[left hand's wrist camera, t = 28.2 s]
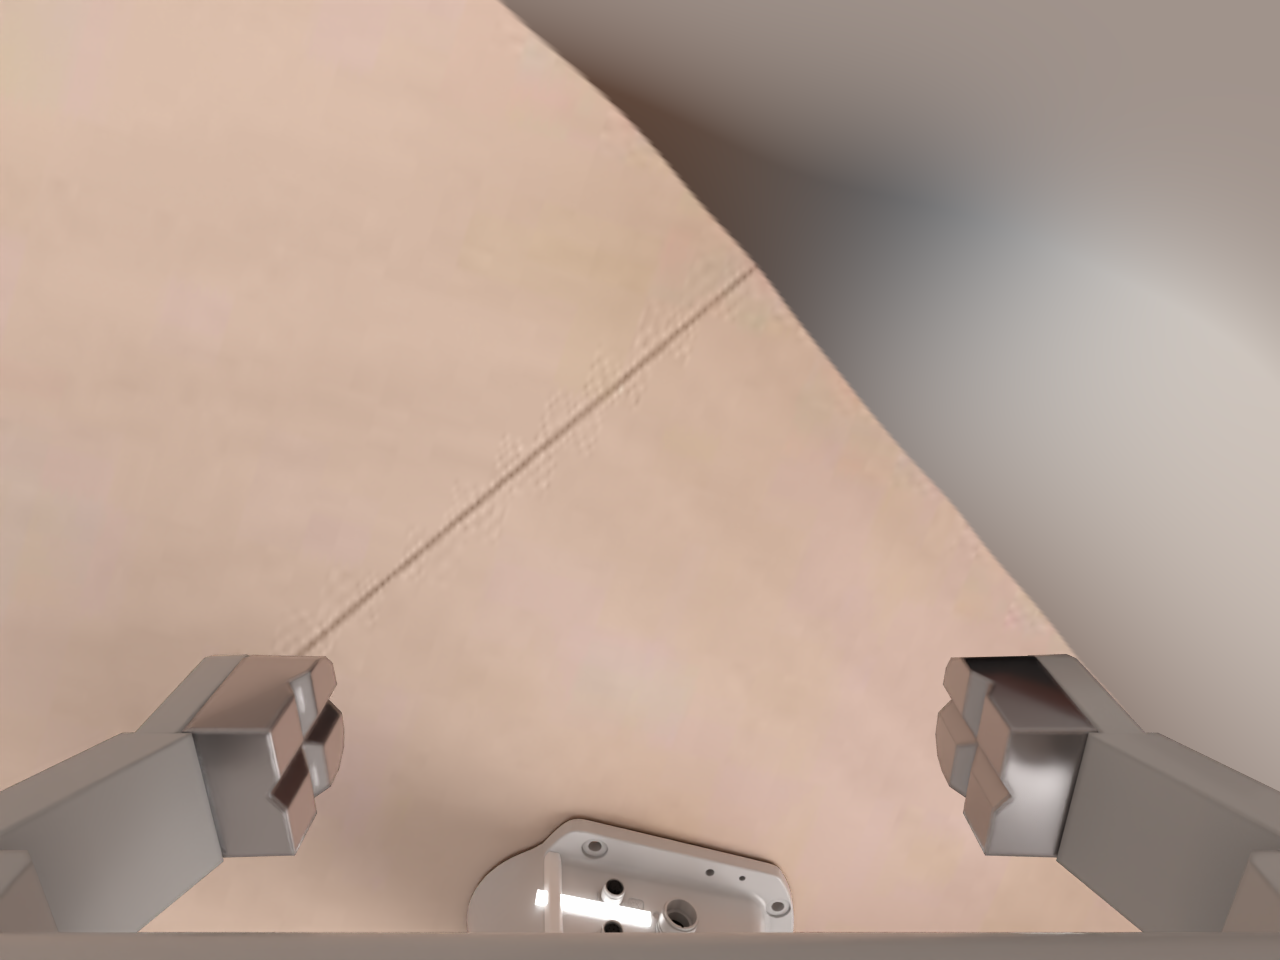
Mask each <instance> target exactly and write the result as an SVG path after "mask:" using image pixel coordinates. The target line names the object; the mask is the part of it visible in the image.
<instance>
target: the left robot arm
mask: <svg viewBox="0 0 1280 960" xmlns="http://www.w3.org/2000/svg"><path fill="white" fill-rule="evenodd" d="M336 685H337V682H336V677H335V672H334V667H333V663H332V662H331V661H330V660H329V659H328V658H327V657H326V656H281V655H251V656H249V655H213V656H209V657H205V658H204V659H203V660H202V661H201V662H200V663H199V664H198V665H197V666H196V667H195V668H194V669H193V671H192V672H191V673H190V674H189V675H188V676H187V677H186V678H185V679H184V680H183V681H182V682H181V683H180V685H179V686H178V687H177V688H176V689H175V690H174V691H173V692H172V693H171V694H170V695H169V696H168V697H167V699H166V700H165V701H164V702H163V703H162V704H161V705H160V706H159V707H158V708H157V709H156V710H155V711H154V713H153V714H152V715H151V716H150V717H149V718H148V719H147V720H146V721H145V722H144V723H143V724H142V725H141V727H140V728H139V729H138V730H137V731H136V732H135V733H121V734H119V735H116V736H114V737H112V738H110V739H108V740H106V741H104V742H102V743H100V744H98V745H96V746H94V747H92V748H90V749H88V750H85V751H83V752H81V753H79V754H77V755H75V756H73V757H71V758H69V759H67V760H65V761H63V762H61V763H59V764H56V765H54V766H52V767H50V768H48V769H46V770H44V771H42V772H40V773H38V774H36V775H34V776H32V777H30V778H27V779H25V780H23V781H21V782H19V783H17V784H15V785H13V786H11V787H9V788H7V789H5V790H3V791H1V792H0V960H1280V792H1279V791H1277V790H1275V789H1273V788H1271V787H1269V786H1267V785H1265V784H1262V783H1261V782H1258V781H1256V780H1254V779H1252V778H1250V777H1248V776H1246V775H1244V774H1242V773H1240V772H1238V771H1236V770H1234V769H1232V768H1230V767H1227V766H1225V765H1223V764H1221V763H1219V762H1217V761H1215V760H1213V759H1211V758H1209V757H1207V756H1205V755H1203V754H1201V753H1198V752H1197V751H1194V750H1192V749H1190V748H1188V747H1186V746H1184V745H1182V744H1180V743H1178V742H1176V741H1174V740H1172V739H1170V738H1168V737H1166V736H1164V735H1161V734H1159V733H1145V732H1144V731H1143V730H1142V729H1141V728H1140V726H1139V725H1138V724H1137V723H1136V722H1135V721H1134V720H1133V719H1132V718H1131V717H1130V716H1129V715H1128V714H1127V712H1126V711H1125V710H1124V709H1123V708H1122V707H1121V706H1120V705H1119V704H1118V703H1117V702H1116V701H1115V700H1114V698H1113V697H1112V696H1111V695H1110V694H1109V693H1108V692H1107V691H1106V690H1105V689H1104V688H1103V687H1102V686H1101V684H1100V683H1099V682H1098V681H1097V680H1096V679H1095V678H1094V677H1093V676H1092V675H1091V674H1090V673H1089V672H1088V670H1087V669H1086V668H1085V667H1084V666H1083V665H1082V664H1081V663H1080V662H1079V661H1078V660H1077V659H1076V658H1074V657H1072V656H1069V655H1067V654H1057V655H1028V656H1007V657H955V658H951V659H950V661H949V663H948V665H947V667H946V670H945V676H944V681H943V685H944V687H945V689H946V690H947V692H948V694H949V695H950V697H951V700H950V701H949V702H948V703H947V704H946V705H945V706H944V707H943V708H942V709H941V710H940V712H939V713H938V718H937V726H936V734H935V735H936V746H937V756H938V759H939V763H940V766H941V770H942V772H943V774H944V776H945V778H946V780H947V783H948V785H949V786H950V787H951V788H953V789H954V790H955V791H957V792H958V793H960V794H961V795H963V796H964V797H965V798H966V799H965V805H964V810H963V814H964V816H965V818H966V820H967V822H968V823H969V825H970V827H971V829H972V831H973V833H974V835H975V837H976V839H977V841H978V843H979V844H980V846H981V848H982V850H983V852H984V854H985V855H990V856H1025V857H1057V859H1056V861H1057V862H1058V863H1060V864H1061V865H1062V866H1063V867H1065V868H1066V869H1067V870H1068V871H1069V872H1071V873H1072V874H1073V875H1074V876H1075V877H1077V878H1078V879H1079V880H1080V881H1081V882H1083V883H1084V884H1085V885H1086V886H1088V887H1089V888H1090V889H1091V890H1092V891H1094V892H1095V893H1096V894H1097V895H1098V896H1100V897H1101V898H1102V899H1103V900H1105V901H1106V902H1107V903H1108V904H1109V905H1111V906H1112V907H1113V908H1114V909H1115V910H1117V911H1118V912H1119V913H1120V914H1121V915H1123V916H1124V917H1125V918H1126V919H1128V920H1129V921H1130V922H1131V923H1132V924H1134V925H1135V926H1136V927H1137V928H1138V929H1140V930H1141V931H1142V932H1116V933H993V932H793V929H794V913H793V901H792V895H791V890H790V888H789V885H788V882H787V880H786V878H785V876H784V874H783V873H782V871H781V870H780V868H779V867H777V866H775V865H772V864H769V863H766V862H762V861H758V860H754V859H750V858H745V857H741V856H737V855H733V854H728V853H724V852H720V851H716V850H712V849H707V848H703V847H699V846H695V845H691V844H686V843H682V842H678V841H674V840H670V839H665V838H661V837H657V836H653V835H649V834H644V833H640V832H636V831H632V830H627V829H623V828H619V827H615V826H611V825H606V824H602V823H598V822H594V821H590V820H585V819H573V820H570V821H567V822H566V823H564V824H563V825H561V826H560V827H559V828H558V829H556V830H555V831H554V832H553V833H552V834H551V835H550V836H549V837H548V838H547V839H546V840H545V841H544V842H543V843H542V844H540V845H539V846H537V847H535V848H533V849H531V850H528V851H526V852H523V853H521V854H519V855H516V856H514V857H512V858H510V859H508V860H506V861H505V862H503V863H501V864H500V865H498V866H497V867H496V868H494V869H493V870H492V871H491V872H490V873H488V874H487V875H486V876H485V877H484V879H483V880H482V881H481V882H480V883H479V885H478V886H477V888H476V889H475V891H474V893H473V895H472V897H471V900H470V902H469V906H468V911H467V929H468V933H196V932H138V931H139V930H141V929H142V928H143V927H144V926H145V925H147V924H148V923H149V922H150V921H151V920H153V919H154V918H155V917H156V916H158V915H159V914H160V913H161V912H162V911H164V910H165V909H166V908H167V907H168V906H170V905H171V904H172V903H173V902H175V901H176V900H177V899H178V898H179V897H181V896H182V895H183V894H184V893H185V892H187V891H188V890H189V889H190V888H192V887H193V886H194V885H195V884H196V883H198V882H199V881H200V880H201V879H202V878H204V877H205V876H206V875H207V874H209V873H210V872H211V871H212V870H213V869H215V868H216V867H217V866H218V865H219V864H221V863H222V862H223V857H253V856H288V855H295V854H296V852H297V850H298V848H299V847H300V845H301V843H302V841H303V839H304V837H305V835H306V833H307V831H308V829H309V827H310V825H311V823H312V822H313V820H314V818H315V816H316V814H317V810H316V805H315V799H314V798H315V797H316V796H317V795H319V794H320V793H322V792H323V791H325V790H326V789H327V788H329V787H330V786H331V785H332V782H333V780H334V778H335V776H336V774H337V772H338V770H339V767H340V762H341V758H342V753H343V749H344V724H343V717H342V713H341V711H340V710H339V709H338V708H337V707H336V706H335V705H334V704H333V703H332V702H331V701H330V700H329V697H330V696H331V694H332V692H333V690H334V689H335V687H336ZM593 841H597V842H593Z"/></svg>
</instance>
